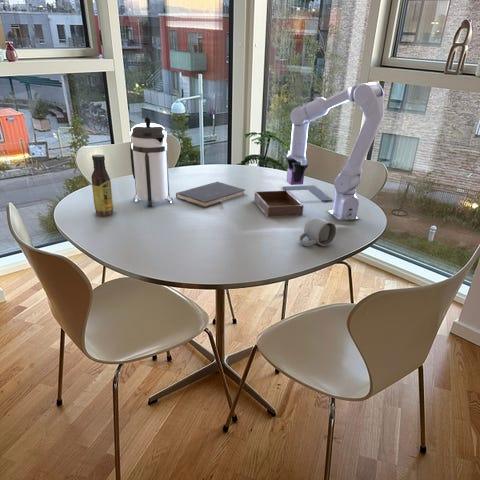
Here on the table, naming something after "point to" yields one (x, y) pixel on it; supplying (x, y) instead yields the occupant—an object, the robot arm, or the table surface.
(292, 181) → the block
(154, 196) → the coffee press
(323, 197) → the mat
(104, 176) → the sauce bottle
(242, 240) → the table surface
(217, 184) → the hardcover book
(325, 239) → the ceramic mug
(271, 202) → the brown wooden tray
